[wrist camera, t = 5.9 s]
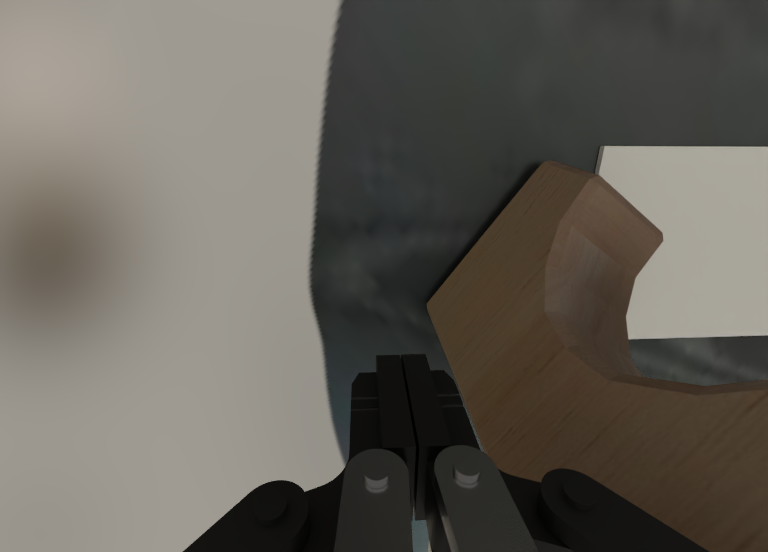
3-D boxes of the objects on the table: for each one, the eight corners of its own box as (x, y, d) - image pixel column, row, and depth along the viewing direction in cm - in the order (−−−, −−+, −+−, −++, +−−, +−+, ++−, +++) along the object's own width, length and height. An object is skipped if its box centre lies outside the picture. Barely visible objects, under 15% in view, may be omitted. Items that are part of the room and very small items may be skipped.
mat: (915, 146, 22) (924, 147, 22) (822, 330, 27) (829, 333, 26) (600, 145, 21) (604, 146, 20) (560, 338, 25) (563, 341, 25)
